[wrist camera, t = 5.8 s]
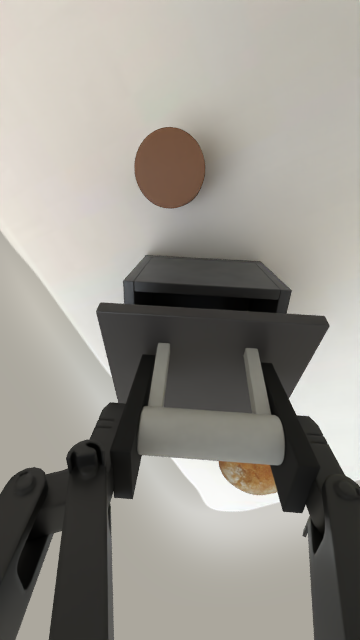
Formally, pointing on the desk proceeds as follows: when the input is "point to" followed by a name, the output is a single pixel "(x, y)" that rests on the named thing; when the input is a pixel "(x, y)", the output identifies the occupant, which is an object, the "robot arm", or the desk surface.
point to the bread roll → (249, 477)
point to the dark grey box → (206, 285)
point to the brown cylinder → (169, 167)
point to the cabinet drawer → (208, 376)
